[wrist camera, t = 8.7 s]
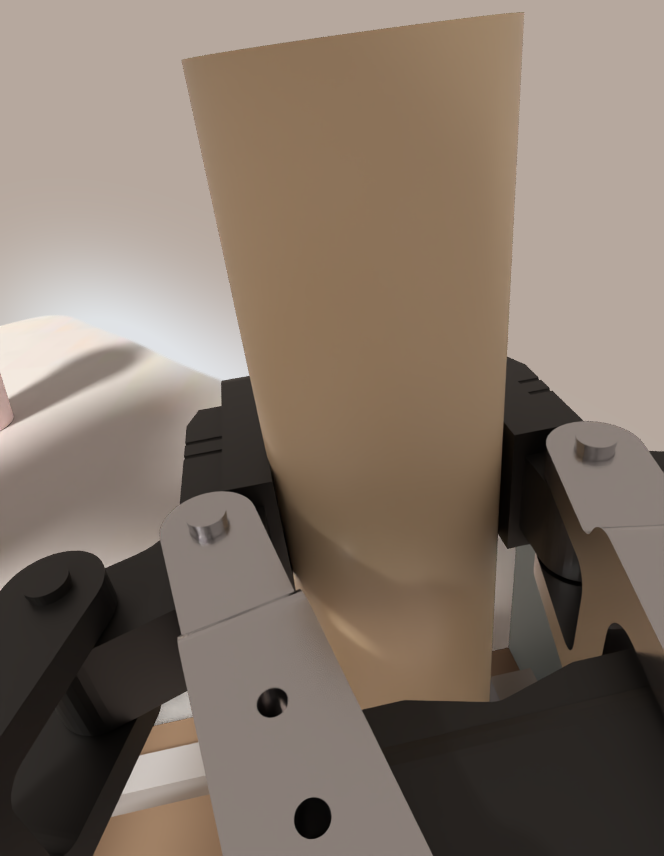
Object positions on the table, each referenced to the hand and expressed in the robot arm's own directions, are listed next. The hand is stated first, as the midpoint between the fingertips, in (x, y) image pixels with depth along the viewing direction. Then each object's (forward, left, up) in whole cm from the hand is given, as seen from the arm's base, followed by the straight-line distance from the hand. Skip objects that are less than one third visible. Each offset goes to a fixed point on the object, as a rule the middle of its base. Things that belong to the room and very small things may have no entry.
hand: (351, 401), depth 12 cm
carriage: (0, -3, -10) cm, 11 cm away
